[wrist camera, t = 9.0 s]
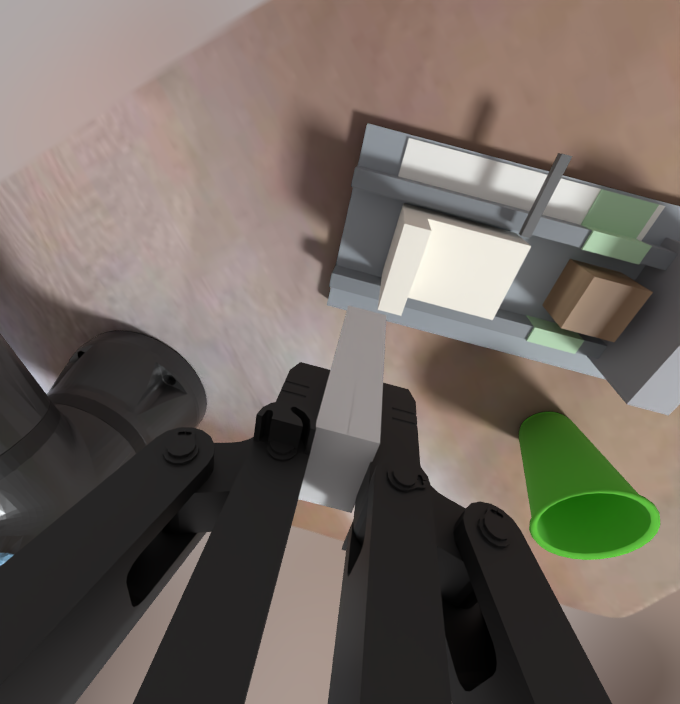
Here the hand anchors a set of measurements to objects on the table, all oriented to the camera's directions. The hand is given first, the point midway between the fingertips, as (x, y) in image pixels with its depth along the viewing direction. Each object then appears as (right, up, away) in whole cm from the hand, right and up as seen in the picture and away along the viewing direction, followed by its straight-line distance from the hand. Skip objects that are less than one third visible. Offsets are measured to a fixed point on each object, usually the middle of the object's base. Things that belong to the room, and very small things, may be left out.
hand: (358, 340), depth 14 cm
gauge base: (+12, +7, +15) cm, 20 cm away
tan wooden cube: (+18, +4, +14) cm, 23 cm away
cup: (+21, -8, +23) cm, 32 cm away
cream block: (+8, +9, +12) cm, 17 cm away
